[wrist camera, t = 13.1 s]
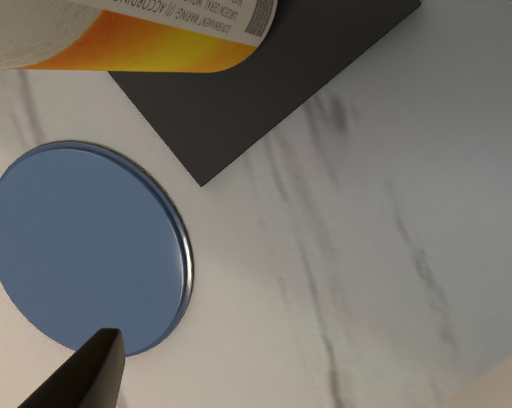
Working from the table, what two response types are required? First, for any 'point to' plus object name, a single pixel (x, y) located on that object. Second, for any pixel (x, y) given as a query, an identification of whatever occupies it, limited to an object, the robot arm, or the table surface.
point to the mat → (258, 80)
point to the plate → (92, 247)
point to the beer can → (131, 34)
